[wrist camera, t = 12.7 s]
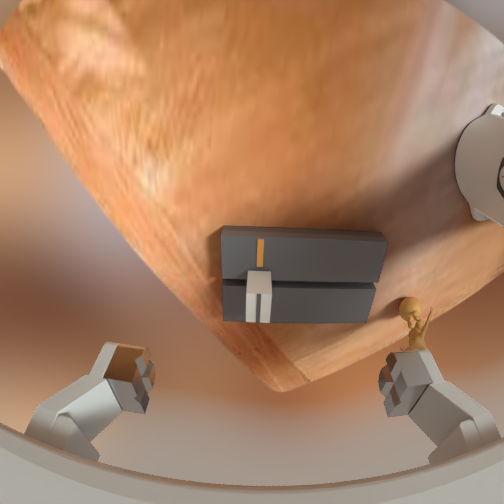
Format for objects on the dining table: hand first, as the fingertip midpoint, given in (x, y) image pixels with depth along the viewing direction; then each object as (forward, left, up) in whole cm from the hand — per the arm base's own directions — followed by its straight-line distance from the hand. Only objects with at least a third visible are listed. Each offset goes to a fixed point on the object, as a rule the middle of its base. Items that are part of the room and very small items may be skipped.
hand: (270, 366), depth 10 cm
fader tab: (0, +16, -29) cm, 33 cm away
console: (-6, +16, -31) cm, 35 cm away
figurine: (-24, +21, -31) cm, 45 cm away
